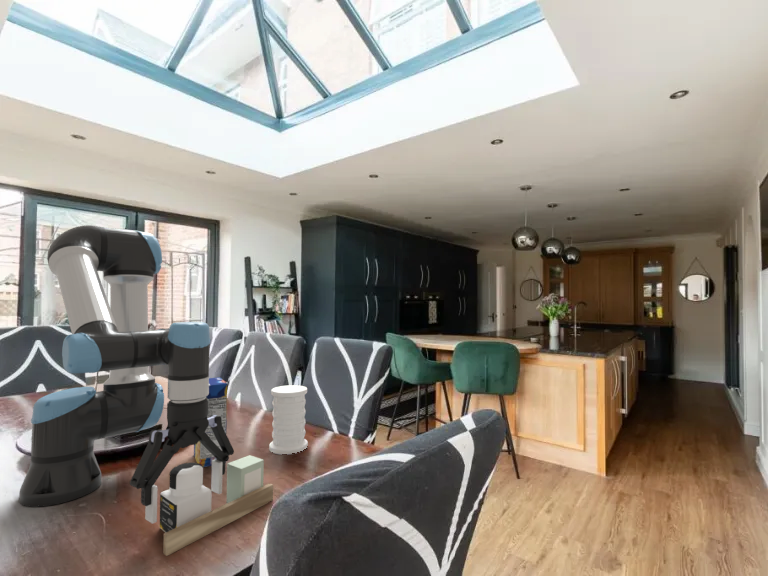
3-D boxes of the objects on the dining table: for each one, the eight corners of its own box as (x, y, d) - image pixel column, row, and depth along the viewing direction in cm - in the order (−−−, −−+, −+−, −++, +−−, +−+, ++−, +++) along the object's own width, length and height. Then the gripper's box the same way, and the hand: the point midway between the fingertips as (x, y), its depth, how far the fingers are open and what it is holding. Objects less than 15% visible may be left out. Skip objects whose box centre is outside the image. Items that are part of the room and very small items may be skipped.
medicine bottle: (158, 528, 80) (160, 467, 80) (194, 513, 85) (195, 456, 86) (175, 541, 75) (176, 477, 76) (211, 525, 81) (212, 465, 81)
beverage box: (199, 468, 108) (200, 386, 109) (193, 454, 117) (195, 379, 118) (225, 462, 112) (227, 383, 112) (218, 450, 121) (220, 377, 122)
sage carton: (226, 504, 89) (227, 463, 89) (248, 493, 94) (249, 455, 94) (240, 511, 86) (241, 469, 86) (263, 499, 91) (263, 459, 92)
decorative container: (261, 452, 120) (262, 391, 120) (282, 439, 131) (283, 383, 131) (295, 456, 116) (296, 394, 117) (314, 443, 127) (314, 386, 128)
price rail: (162, 553, 72) (162, 533, 72) (268, 498, 92) (268, 482, 92) (166, 556, 71) (167, 535, 71) (272, 500, 91) (272, 484, 91)
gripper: (230, 385, 93) (228, 477, 93) (110, 409, 73) (107, 528, 72) (251, 389, 89) (249, 486, 89) (130, 416, 68) (127, 542, 68)
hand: (186, 505), depth 80 cm, fingers open, 13 cm apart
